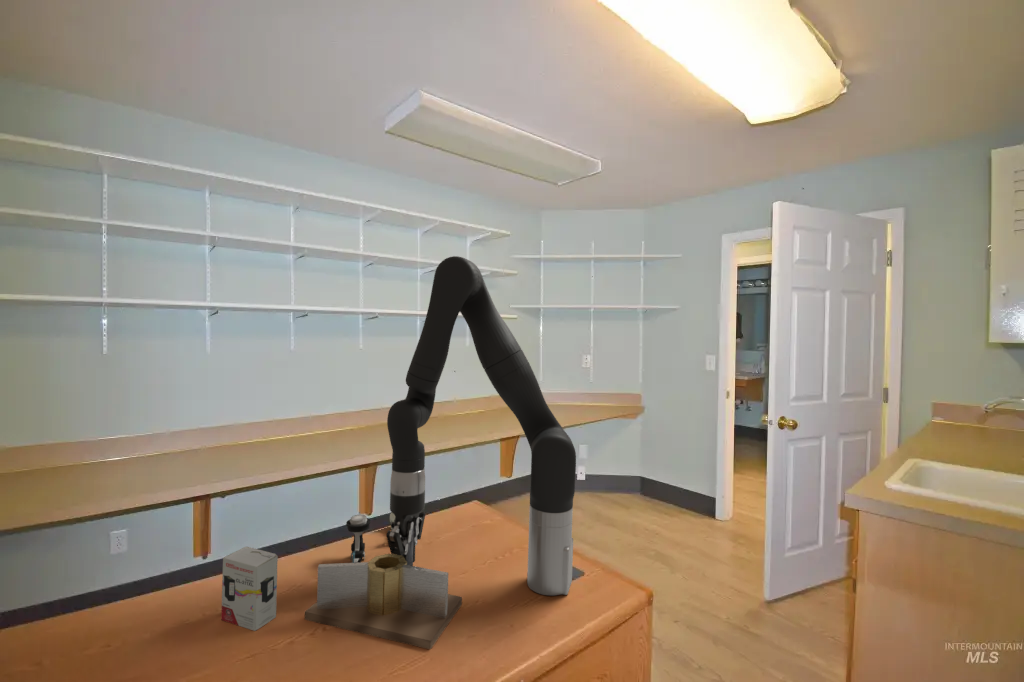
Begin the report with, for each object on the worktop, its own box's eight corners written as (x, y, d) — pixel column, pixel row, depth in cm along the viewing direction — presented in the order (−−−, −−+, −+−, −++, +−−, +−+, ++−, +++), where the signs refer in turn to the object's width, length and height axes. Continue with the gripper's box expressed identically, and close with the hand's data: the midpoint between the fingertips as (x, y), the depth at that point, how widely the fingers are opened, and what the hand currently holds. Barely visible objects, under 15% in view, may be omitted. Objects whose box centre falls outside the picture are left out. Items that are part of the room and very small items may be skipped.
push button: (367, 567, 107) (368, 524, 107) (342, 569, 106) (343, 525, 106) (370, 554, 114) (371, 512, 114) (347, 555, 113) (348, 513, 113)
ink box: (219, 620, 87) (220, 556, 87) (243, 606, 92) (244, 545, 91) (255, 632, 84) (256, 566, 84) (277, 616, 89) (278, 554, 88)
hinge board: (461, 604, 94) (462, 596, 94) (430, 649, 81) (430, 640, 81) (350, 581, 102) (350, 574, 101) (304, 619, 88) (304, 611, 88)
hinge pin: (415, 570, 107) (416, 526, 106) (408, 577, 104) (409, 532, 104) (403, 568, 108) (404, 524, 107) (396, 575, 105) (397, 530, 104)
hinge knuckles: (453, 606, 91) (454, 565, 91) (432, 635, 82) (433, 590, 82) (345, 584, 98) (346, 545, 98) (315, 608, 89) (316, 566, 89)
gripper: (407, 501, 97) (405, 585, 98) (437, 481, 111) (435, 554, 111) (375, 497, 99) (373, 578, 100) (408, 477, 113) (406, 549, 113)
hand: (406, 565), depth 106 cm, fingers closed on hinge pin, 3 cm apart
